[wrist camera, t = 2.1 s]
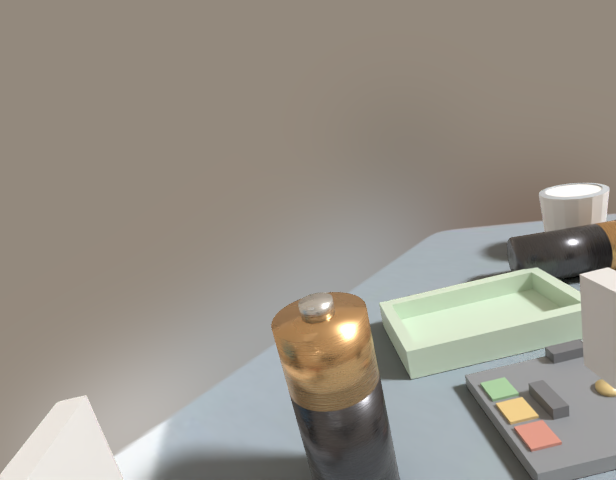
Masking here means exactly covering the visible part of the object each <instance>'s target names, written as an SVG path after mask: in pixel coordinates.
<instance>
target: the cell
mask: <svg viewBox="0 0 616 480" xmlns="http://www.w3.org/2000/svg"><path fill="white" fill-rule="evenodd" d="M271 327H272V331H273V335H274V338H275V342H276V346H277V349H278V353H279V357H280V360H281V364H282V368H283V371H284V375H285V379H286V382H287V386H288V390H289V393H290V397H291V401H292V404H293V408H294V412H295V415H296V419H297V423H298V426H299V430H300V434H301V437H302V441H303V445H304V448H305V452H306V455H307V459H308V463H309V466H310V470H311V474H312V477H313V480H400V477H399V472H398V467H397V462H396V457H395V452H394V447H393V441H392V436H391V431H390V426H389V421H388V416H387V411H386V405H385V400H384V395H383V390H382V385H381V380H380V375H379V370H378V364H377V359H376V354H375V349H374V344H373V339H372V334H371V328H370V323H369V318H368V313H367V308H366V304H365V302H364V301H363V300H362V299H361V298H359V297H358V296H355V295H353V294H349V293H341V292H332V293H331V292H330V293H315V294H311V295H308V296H306V297H304V298H302V299H299V300H297V301H295V302H293V303H291V304H289V305H288V306H286V307H284V308H283V309H282V310H281V311H279V312H278V313H277V314H276V316H275V317H274V318H273V321H272V324H271Z"/></svg>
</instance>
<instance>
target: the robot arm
mask: <svg viewBox="0 0 616 480" xmlns="http://www.w3.org/2000/svg"><path fill="white" fill-rule="evenodd" d="M580 295H581V315H582V336H583V357H584V365H585V366H586V367H587V368H589V369H590V370H591V371H593V372H594V373H595V374H596V375H598V376H599V377H600V378H602V379H603V380H604V381H605V382H607V383H608V384H609V385H610V386H612V387H613V388H614V389H616V271H615V270H613V269H611V268H608V267H607V268H603V269H599V270H595V271H591V272H587V273H583V274H580ZM0 480H123V476H122V474H121V472H120V470H119V467H118V465H117V463H116V461H115V458H114V456H113V454H112V452H111V450H110V447H109V445H108V443H107V441H106V438H105V436H104V434H103V432H102V429H101V428H100V425H99V423H98V421H97V419H96V416H95V414H94V412H93V409H92V407H91V405H90V403H89V400H88V398H87V396H86V395H84V396H80V397H76V398H72V399H68V400H64V401H60V402H57V403H56V404H55V405H54V407H53V408H52V409H51V410H50V412H49V413H48V414H47V415H46V417H45V418H44V419H43V421H42V422H41V423H40V424H39V426H38V427H37V428H36V430H35V431H34V432H33V433H32V435H31V436H30V437H29V438H28V440H27V441H26V442H25V444H24V445H23V446H22V447H21V449H20V450H19V451H18V453H17V454H16V455H15V456H14V458H13V459H12V460H11V461H10V463H9V464H8V465H7V466H6V468H5V469H4V470H3V472H2V473H1V474H0Z"/></svg>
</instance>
